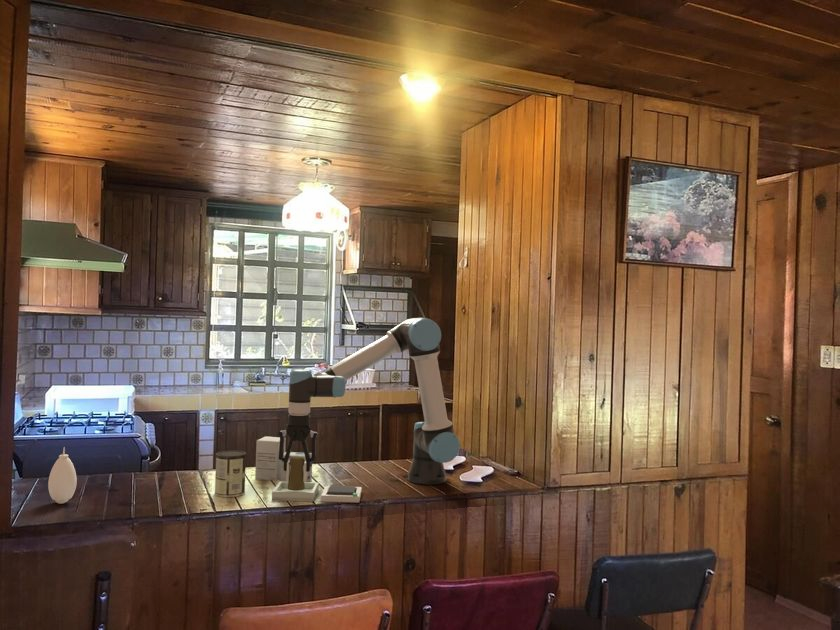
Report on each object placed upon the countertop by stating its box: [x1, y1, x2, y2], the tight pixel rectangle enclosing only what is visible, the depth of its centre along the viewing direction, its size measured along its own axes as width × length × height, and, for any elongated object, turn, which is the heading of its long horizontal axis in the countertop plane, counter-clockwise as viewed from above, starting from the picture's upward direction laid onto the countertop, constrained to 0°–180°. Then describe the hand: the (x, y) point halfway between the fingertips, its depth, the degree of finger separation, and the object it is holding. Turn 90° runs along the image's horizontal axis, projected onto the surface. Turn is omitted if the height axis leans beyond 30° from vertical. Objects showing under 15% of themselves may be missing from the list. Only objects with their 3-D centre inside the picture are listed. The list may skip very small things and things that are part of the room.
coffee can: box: [214, 450, 247, 498], centre depth 228 cm, size 10×10×14 cm
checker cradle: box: [320, 485, 362, 503], centre depth 229 cm, size 13×13×3 cm
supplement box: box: [254, 436, 287, 481], centre depth 253 cm, size 9×9×15 cm
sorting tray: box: [271, 480, 320, 503], centre depth 229 cm, size 14×14×3 cm
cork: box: [287, 456, 305, 491], centre depth 229 cm, size 6×6×11 cm
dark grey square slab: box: [328, 484, 357, 495], centre depth 229 cm, size 9×9×2 cm
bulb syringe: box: [47, 446, 78, 505], centre depth 210 cm, size 8×8×18 cm
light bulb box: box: [279, 451, 313, 482], centre depth 248 cm, size 11×7×11 cm, turn 84°
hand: (296, 480), depth 229 cm, fingers closed on cork, 5 cm apart
